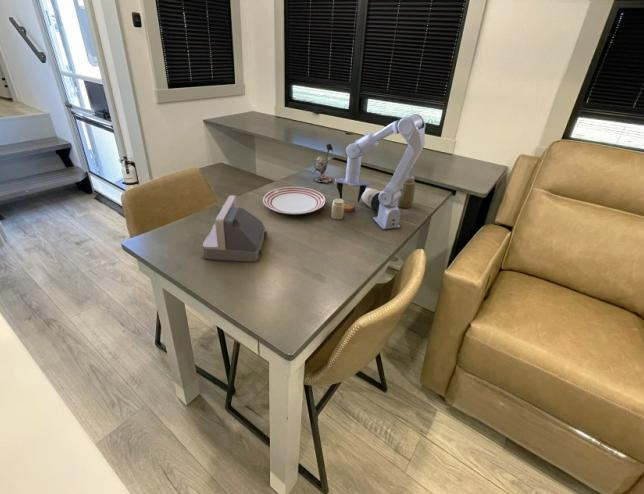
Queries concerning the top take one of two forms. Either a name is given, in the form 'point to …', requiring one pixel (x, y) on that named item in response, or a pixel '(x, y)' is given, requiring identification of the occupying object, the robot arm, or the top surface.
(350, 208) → the lid
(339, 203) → the jar
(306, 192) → the dinner plate
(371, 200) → the coffee cup
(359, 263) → the top surface
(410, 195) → the squeeze bottle
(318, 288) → the top surface
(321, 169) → the plant with pod
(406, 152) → the robot arm
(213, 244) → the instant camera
